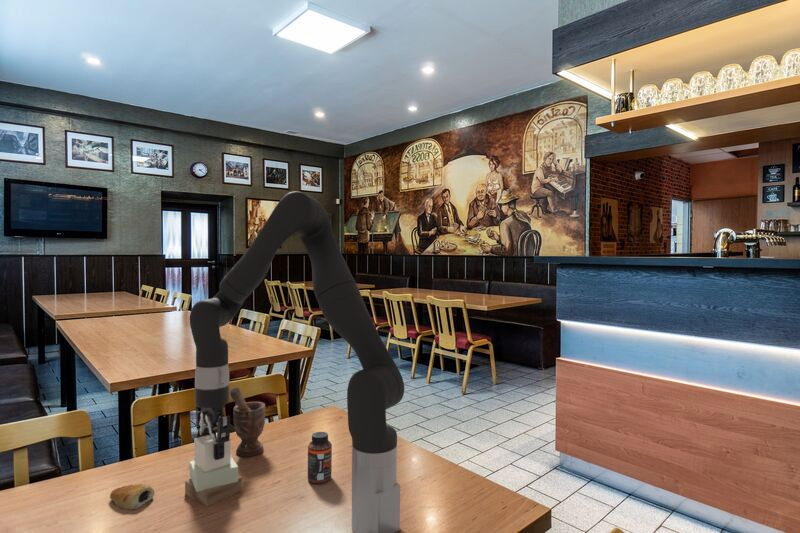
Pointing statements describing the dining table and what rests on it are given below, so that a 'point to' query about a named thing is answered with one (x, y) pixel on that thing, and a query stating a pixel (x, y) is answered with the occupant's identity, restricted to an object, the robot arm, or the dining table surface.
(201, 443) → the cream block
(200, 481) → the upper block
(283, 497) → the dining table surface
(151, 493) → the pastry
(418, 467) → the dining table surface
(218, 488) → the lower block
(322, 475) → the supplement bottle
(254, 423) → the mortar and pestle
